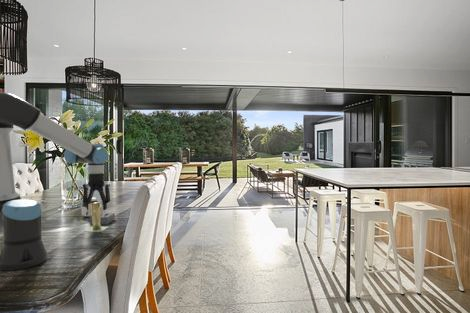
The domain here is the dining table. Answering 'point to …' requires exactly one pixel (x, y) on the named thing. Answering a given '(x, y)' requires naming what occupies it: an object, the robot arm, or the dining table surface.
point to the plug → (96, 216)
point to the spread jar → (84, 208)
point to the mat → (96, 230)
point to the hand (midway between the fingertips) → (96, 215)
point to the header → (106, 218)
